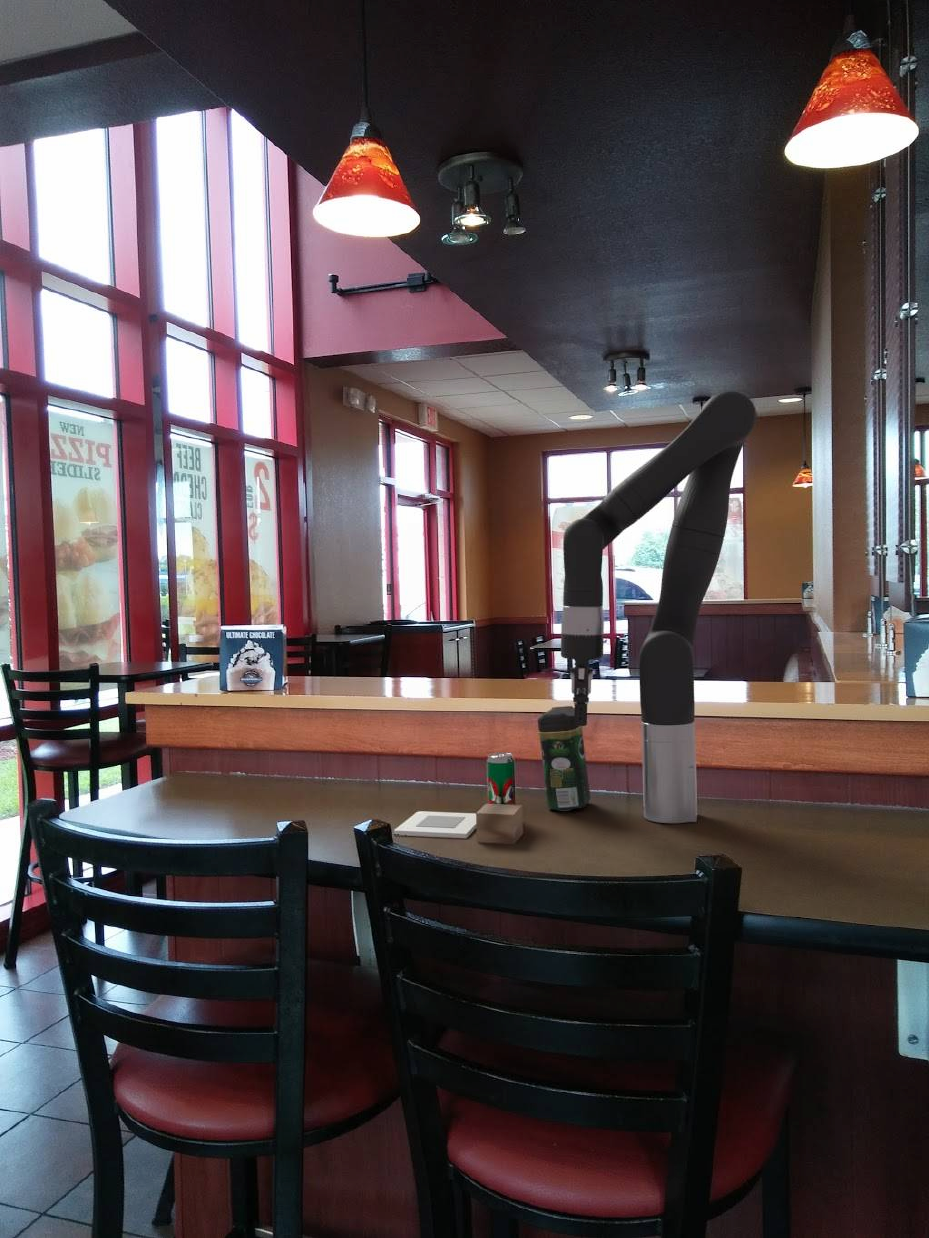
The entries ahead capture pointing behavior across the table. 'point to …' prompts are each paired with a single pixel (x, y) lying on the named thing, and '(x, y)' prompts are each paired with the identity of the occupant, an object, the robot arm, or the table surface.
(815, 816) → the table surface
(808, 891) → the table surface
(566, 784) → the coffee jar
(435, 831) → the board
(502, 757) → the soda can
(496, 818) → the walnut block
